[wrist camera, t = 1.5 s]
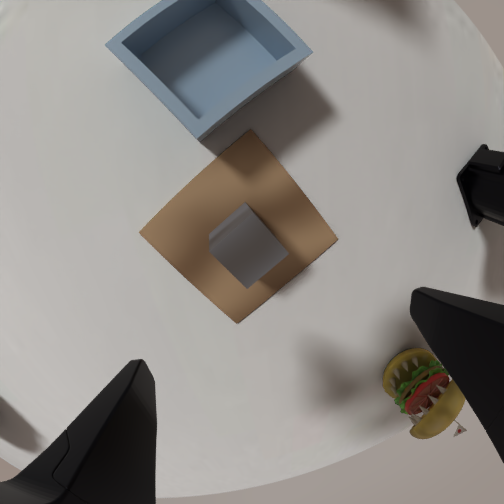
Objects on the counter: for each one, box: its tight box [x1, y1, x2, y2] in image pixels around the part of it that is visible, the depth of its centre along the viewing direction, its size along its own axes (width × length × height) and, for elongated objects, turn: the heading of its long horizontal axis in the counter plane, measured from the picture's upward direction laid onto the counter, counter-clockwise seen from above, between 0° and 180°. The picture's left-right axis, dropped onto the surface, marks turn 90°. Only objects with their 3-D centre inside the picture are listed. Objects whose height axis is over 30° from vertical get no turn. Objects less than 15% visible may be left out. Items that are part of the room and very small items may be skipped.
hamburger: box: [383, 348, 466, 439], centre depth 21 cm, size 8×7×12 cm
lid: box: [139, 129, 338, 324], centre depth 18 cm, size 10×10×4 cm
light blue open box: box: [105, 0, 313, 142], centre depth 13 cm, size 8×8×4 cm
